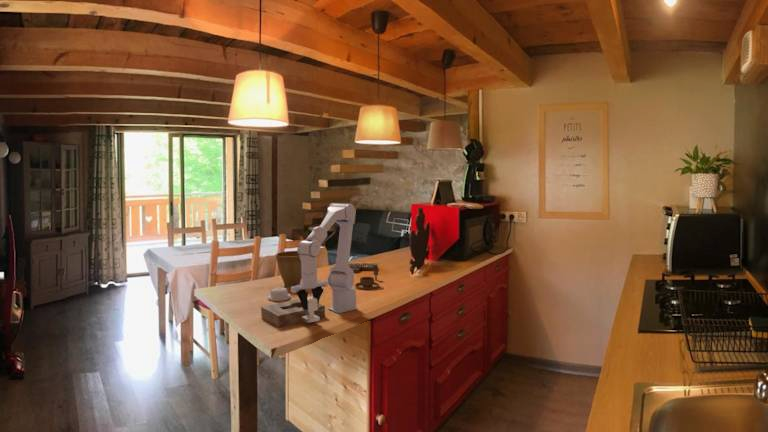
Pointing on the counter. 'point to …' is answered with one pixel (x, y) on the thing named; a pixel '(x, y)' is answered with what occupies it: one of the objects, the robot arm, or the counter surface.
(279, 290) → the mechanical component
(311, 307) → the keyed peg
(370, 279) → the place setting
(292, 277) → the plant pot
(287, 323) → the keyhole plate
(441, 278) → the counter surface
